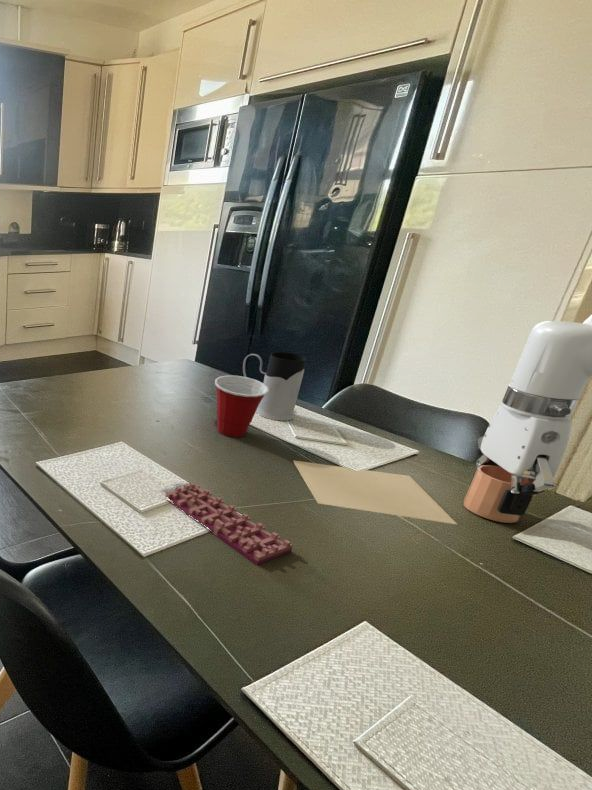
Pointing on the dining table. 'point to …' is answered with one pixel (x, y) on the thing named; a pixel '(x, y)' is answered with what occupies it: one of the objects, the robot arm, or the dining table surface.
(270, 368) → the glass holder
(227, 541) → the maroon flat bar
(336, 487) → the mat
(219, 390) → the plastic cup
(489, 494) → the peach cup
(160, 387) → the dining table surface
